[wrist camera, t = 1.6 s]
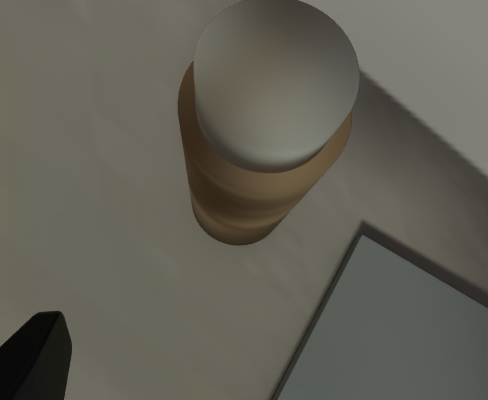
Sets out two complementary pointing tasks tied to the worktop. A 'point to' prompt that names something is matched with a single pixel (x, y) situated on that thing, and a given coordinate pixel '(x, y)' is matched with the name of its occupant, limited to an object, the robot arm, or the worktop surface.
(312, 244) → the worktop surface
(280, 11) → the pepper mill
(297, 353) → the slate trivet
